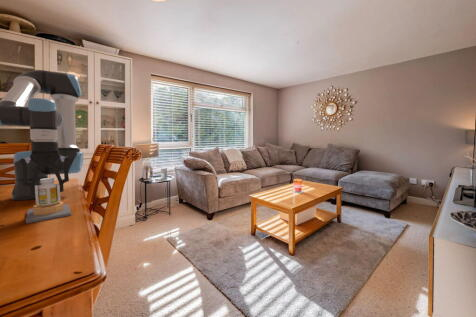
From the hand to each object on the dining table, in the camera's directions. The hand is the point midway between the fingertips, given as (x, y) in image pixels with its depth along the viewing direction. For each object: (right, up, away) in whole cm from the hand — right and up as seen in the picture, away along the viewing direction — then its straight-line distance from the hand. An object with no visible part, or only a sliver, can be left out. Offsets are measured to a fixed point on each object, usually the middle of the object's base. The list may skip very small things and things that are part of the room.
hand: (48, 201), depth 81 cm
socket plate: (0, -5, 0) cm, 5 cm away
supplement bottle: (0, -1, 0) cm, 1 cm away
